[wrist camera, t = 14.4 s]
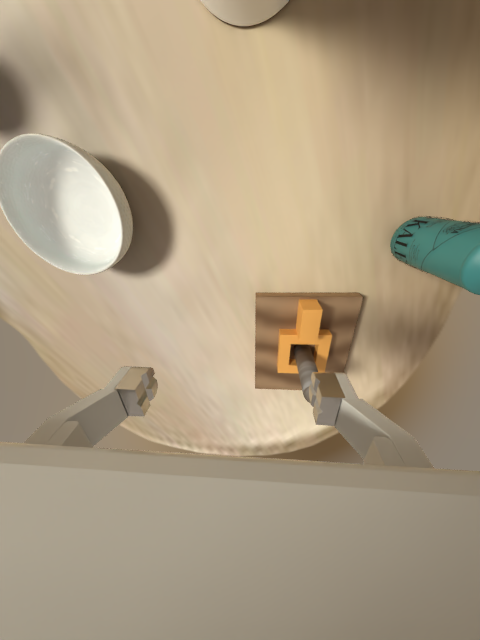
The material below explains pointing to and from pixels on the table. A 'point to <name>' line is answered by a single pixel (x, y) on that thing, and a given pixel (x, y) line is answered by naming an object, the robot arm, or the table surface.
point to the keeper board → (287, 319)
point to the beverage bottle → (441, 249)
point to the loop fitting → (304, 337)
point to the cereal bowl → (64, 204)
